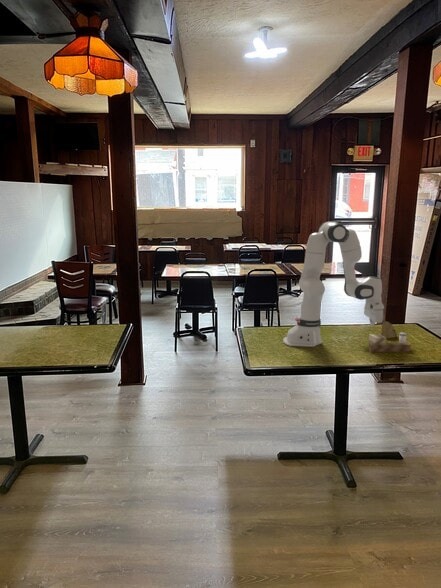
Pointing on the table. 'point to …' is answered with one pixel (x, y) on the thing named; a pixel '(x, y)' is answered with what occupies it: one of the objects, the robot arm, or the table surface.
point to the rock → (388, 330)
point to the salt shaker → (402, 337)
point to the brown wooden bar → (389, 347)
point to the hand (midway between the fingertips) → (372, 326)
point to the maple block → (376, 338)
